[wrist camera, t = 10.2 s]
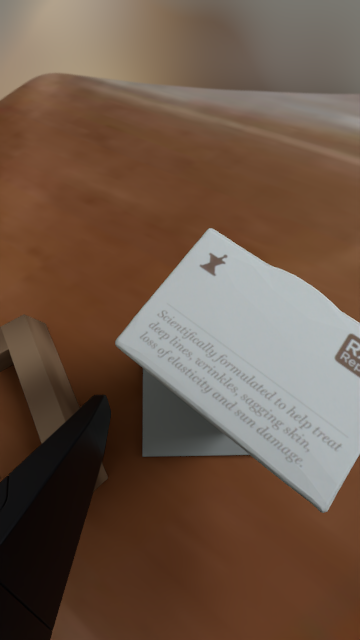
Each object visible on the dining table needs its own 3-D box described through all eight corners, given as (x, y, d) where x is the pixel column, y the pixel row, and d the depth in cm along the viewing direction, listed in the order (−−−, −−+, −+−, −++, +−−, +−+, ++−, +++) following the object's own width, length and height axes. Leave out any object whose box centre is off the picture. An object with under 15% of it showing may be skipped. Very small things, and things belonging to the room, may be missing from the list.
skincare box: (162, 375, 18) (90, 346, 6) (201, 325, 19) (202, 215, 7) (236, 435, 17) (321, 542, 5) (275, 379, 17) (430, 354, 6)
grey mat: (299, 452, 16) (302, 453, 16) (143, 455, 17) (142, 456, 17) (278, 303, 19) (280, 301, 19) (144, 310, 20) (143, 308, 19)
